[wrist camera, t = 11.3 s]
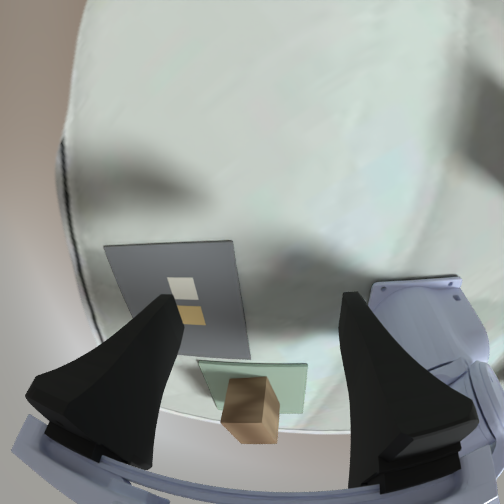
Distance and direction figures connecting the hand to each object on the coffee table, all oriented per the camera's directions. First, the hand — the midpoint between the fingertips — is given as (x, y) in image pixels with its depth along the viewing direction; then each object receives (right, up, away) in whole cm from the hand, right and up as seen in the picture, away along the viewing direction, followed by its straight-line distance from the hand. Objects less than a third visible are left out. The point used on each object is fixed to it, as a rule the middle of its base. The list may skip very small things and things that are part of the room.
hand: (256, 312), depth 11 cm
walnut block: (0, -15, +19) cm, 24 cm away
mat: (0, -15, +20) cm, 25 cm away
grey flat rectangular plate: (-7, -3, +14) cm, 16 cm away
